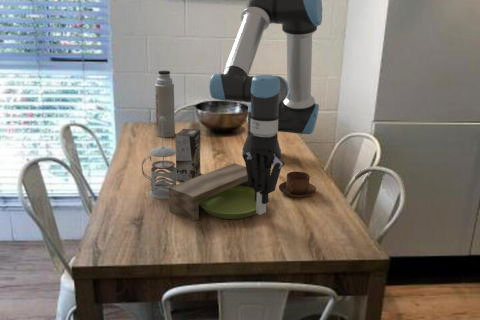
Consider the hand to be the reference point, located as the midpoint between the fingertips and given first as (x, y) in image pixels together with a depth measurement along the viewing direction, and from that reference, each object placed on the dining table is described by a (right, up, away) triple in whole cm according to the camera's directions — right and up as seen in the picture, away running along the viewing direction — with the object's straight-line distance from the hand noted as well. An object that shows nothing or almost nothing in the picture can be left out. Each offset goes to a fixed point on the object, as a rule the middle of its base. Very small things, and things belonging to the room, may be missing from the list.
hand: (261, 212), depth 144 cm
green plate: (-9, 0, +7) cm, 11 cm away
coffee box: (-24, +9, +30) cm, 40 cm away
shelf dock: (-14, +2, +11) cm, 18 cm away
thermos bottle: (-39, +26, +78) cm, 91 cm away
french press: (-31, +4, +16) cm, 35 cm away
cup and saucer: (+13, +4, +19) cm, 23 cm away
